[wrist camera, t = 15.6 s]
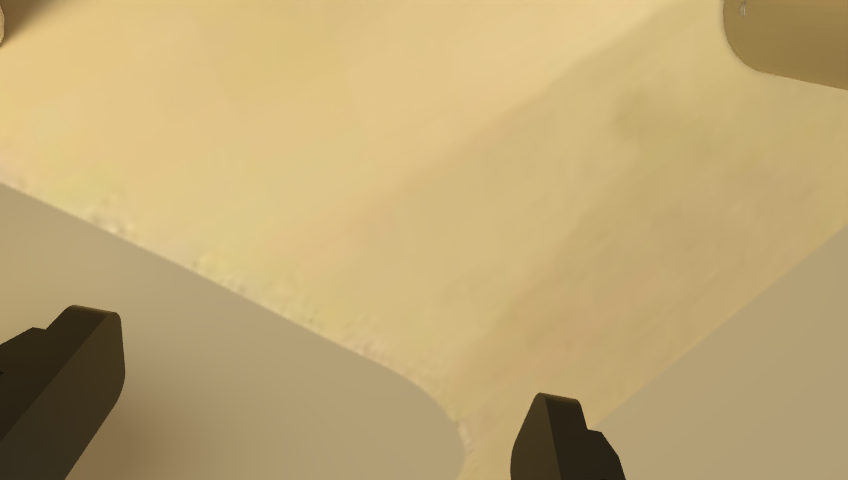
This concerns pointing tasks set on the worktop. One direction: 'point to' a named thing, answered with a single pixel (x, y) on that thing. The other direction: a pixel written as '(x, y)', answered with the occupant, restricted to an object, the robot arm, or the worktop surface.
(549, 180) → the worktop surface
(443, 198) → the worktop surface
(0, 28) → the white cylinder
